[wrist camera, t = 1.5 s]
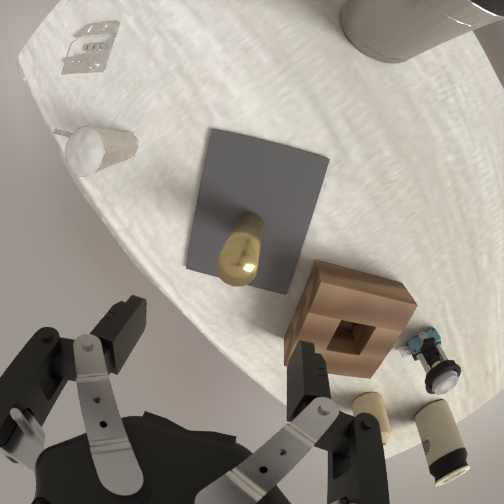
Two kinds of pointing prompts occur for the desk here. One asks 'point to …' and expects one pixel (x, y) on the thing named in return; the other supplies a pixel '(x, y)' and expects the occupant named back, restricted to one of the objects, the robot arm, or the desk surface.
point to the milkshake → (97, 149)
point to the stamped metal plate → (93, 59)
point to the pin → (241, 251)
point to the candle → (374, 412)
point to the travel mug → (441, 442)
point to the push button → (433, 362)
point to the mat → (256, 203)
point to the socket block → (349, 318)
